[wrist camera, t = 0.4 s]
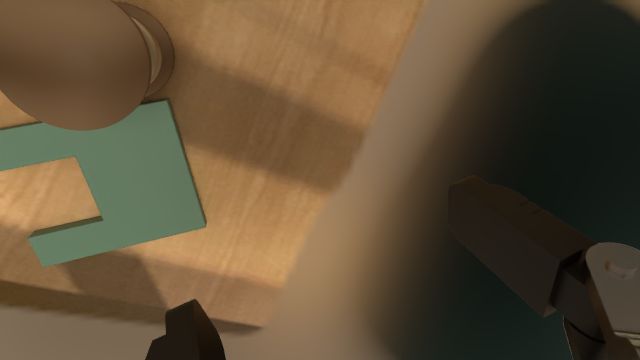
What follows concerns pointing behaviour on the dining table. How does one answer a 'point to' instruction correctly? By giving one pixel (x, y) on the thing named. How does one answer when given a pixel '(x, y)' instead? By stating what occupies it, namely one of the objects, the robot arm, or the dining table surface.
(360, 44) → the dining table surface
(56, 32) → the bobbin
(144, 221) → the notch board
